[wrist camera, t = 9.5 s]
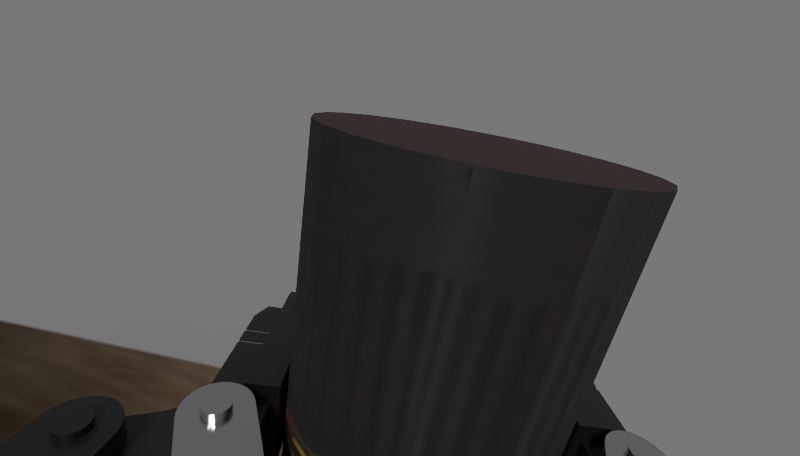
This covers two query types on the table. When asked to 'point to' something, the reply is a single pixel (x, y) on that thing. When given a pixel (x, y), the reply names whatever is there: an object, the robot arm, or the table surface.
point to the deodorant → (456, 288)
